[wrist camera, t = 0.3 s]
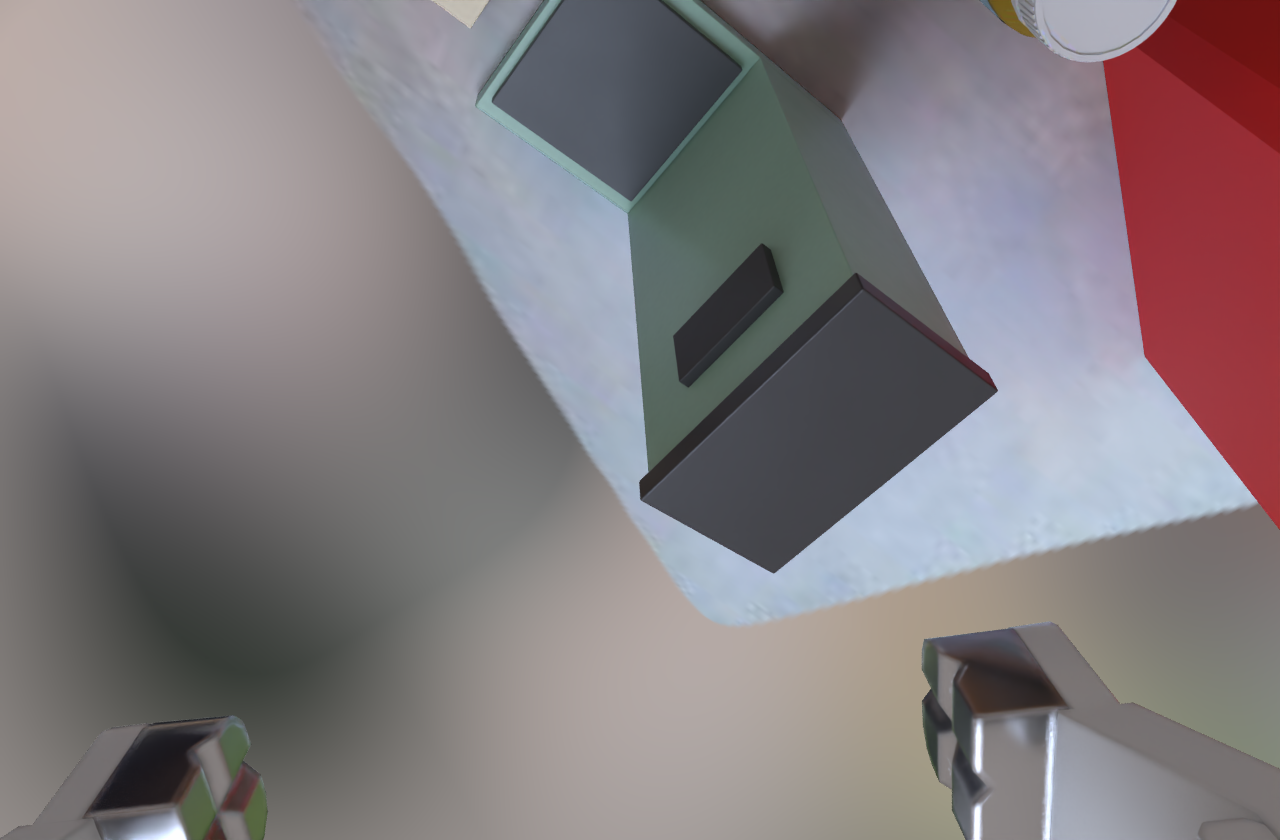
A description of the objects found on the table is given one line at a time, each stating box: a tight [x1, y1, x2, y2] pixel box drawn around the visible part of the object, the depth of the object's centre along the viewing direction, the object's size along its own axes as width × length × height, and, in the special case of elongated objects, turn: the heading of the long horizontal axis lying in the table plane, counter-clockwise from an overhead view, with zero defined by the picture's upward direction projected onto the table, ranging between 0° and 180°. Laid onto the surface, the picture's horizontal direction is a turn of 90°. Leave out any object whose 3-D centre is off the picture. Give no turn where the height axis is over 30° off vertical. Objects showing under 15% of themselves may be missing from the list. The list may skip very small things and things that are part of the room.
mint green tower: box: [475, 0, 998, 573], centre depth 48 cm, size 13×18×27 cm
